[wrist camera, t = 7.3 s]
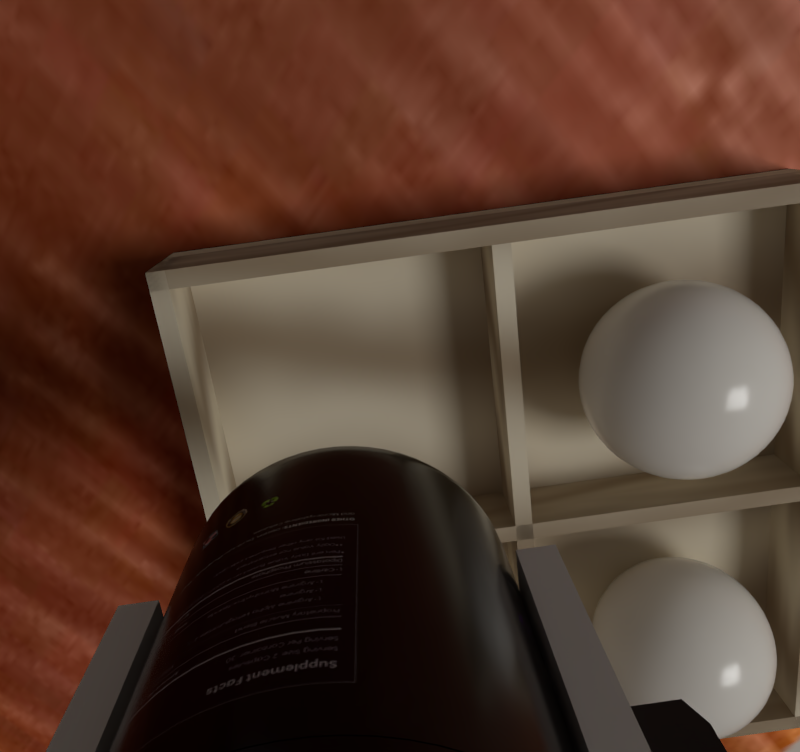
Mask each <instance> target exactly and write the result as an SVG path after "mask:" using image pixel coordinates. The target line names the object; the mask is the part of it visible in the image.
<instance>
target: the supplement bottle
mask: <svg viewBox="0 0 800 752" xmlns="http://www.w3.org/2000/svg"><path fill="white" fill-rule="evenodd" d="M109 752H575V749H574V746H573V743H572V740H571V737H570V734H569V732H568V729H567V726H566V723H565V720H564V717H563V714H562V711H561V709H560V706H559V703H558V700H557V697H556V694H555V691H554V689H553V686H552V683H551V680H550V677H549V674H548V671H547V669H546V666H545V663H544V660H543V657H542V654H541V651H540V648H539V646H538V643H537V640H536V637H535V634H534V631H533V628H532V626H531V623H530V620H529V617H528V614H527V611H526V608H525V606H524V603H523V600H522V597H521V594H520V591H519V588H518V585H517V583H516V580H515V577H514V574H513V571H512V568H511V566H510V564H509V561H508V558H507V556H506V553H505V550H504V548H503V545H502V543H501V541H500V539H499V536H498V534H497V532H496V530H495V528H494V526H493V525H492V523H491V521H490V520H489V518H488V516H487V514H486V513H485V512H484V510H483V509H482V508H481V506H480V505H479V504H478V503H477V501H476V500H475V499H474V498H473V497H472V496H471V495H470V494H469V493H468V492H467V491H466V490H465V489H464V488H462V487H461V486H460V485H459V484H458V483H457V482H455V481H454V480H453V479H451V478H450V477H449V476H447V475H446V474H444V473H443V472H441V471H440V470H438V469H436V468H434V467H433V466H431V465H429V464H427V463H425V462H422V461H420V460H418V459H416V458H413V457H410V456H407V455H404V454H401V453H398V452H394V451H390V450H385V449H379V448H373V447H362V446H337V447H328V448H320V449H315V450H311V451H306V452H302V453H299V454H296V455H293V456H289V457H287V458H284V459H282V460H280V461H277V462H275V463H273V464H271V465H269V466H267V467H265V468H263V469H262V470H260V471H258V472H257V473H255V474H254V475H252V476H251V477H249V478H248V479H246V480H245V481H244V482H242V483H241V484H240V485H239V486H238V487H236V488H235V489H234V490H233V491H232V492H231V493H230V494H229V495H228V496H227V497H226V498H225V499H224V500H223V501H222V502H221V503H220V504H219V506H218V507H217V508H216V509H215V511H214V512H213V513H212V515H211V516H210V518H209V519H208V521H207V522H206V524H205V526H204V527H203V529H202V531H201V532H200V534H199V536H198V539H197V541H196V543H195V545H194V547H193V549H192V551H191V554H190V556H189V558H188V561H187V563H186V565H185V567H184V569H183V572H182V574H181V576H180V579H179V581H178V584H177V586H176V589H175V591H174V593H173V596H172V598H171V601H170V603H169V606H168V608H167V611H166V613H165V615H164V618H163V620H162V623H161V625H160V628H159V630H158V632H157V635H156V637H155V640H154V642H153V645H152V647H151V650H150V652H149V654H148V657H147V659H146V662H145V664H144V667H143V669H142V671H141V674H140V676H139V679H138V681H137V684H136V686H135V689H134V691H133V693H132V696H131V698H130V701H129V703H128V706H127V708H126V710H125V713H124V715H123V718H122V720H121V723H120V725H119V728H118V730H117V732H116V735H115V737H114V740H113V742H112V745H111V747H110V749H109Z"/></svg>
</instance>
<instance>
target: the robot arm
mask: <svg viewBox="0 0 800 752" xmlns="http://www.w3.org/2000/svg"><path fill="white" fill-rule="evenodd" d="M516 558H517V570H518V581H519V591H520V594H521V597H522V600H523V603H524V606H525V608H526V611H527V614H528V617H529V620H530V623H531V626H532V628H533V631H534V634H535V637H536V640H537V643H538V646H539V648H540V651H541V654H542V657H543V660H544V663H545V666H546V669H547V671H548V674H549V677H550V680H551V683H552V686H553V689H554V691H555V694H556V697H557V700H558V703H559V706H560V709H561V711H562V714H563V717H564V720H565V723H566V726H567V729H568V732H569V734H570V737H571V740H572V743H573V746H574V749H575V752H727V751H726V749H725V748H724V746H723V744H722V743H721V741H720V739H719V737H718V736H717V734H716V732H715V731H714V729H713V727H712V725H711V724H710V723H709V722H708V721H707V720H705V719H704V718H703V717H702V716H701V715H700V714H698V713H697V712H696V711H695V710H694V709H693V708H691V707H690V706H689V705H688V704H687V703H686V702H684V701H683V700H682V699H678V700H671V701H664V702H657V703H650V704H643V705H636V706H630V704H629V702H628V700H627V698H626V696H625V694H624V691H623V689H622V687H621V685H620V683H619V681H618V678H617V676H616V674H615V672H614V670H613V668H612V665H611V663H610V661H609V659H608V657H607V655H606V652H605V650H604V648H603V646H602V644H601V642H600V639H599V637H598V635H597V633H596V631H595V629H594V627H593V624H592V622H591V620H590V618H589V616H588V614H587V611H586V609H585V607H584V605H583V603H582V601H581V598H580V596H579V594H578V592H577V590H576V588H575V585H574V583H573V581H572V579H571V577H570V575H569V573H568V570H567V568H566V566H565V564H564V562H563V560H562V557H561V555H560V553H559V551H558V549H557V547H556V544H555V545H548V546H541V547H534V548H527V549H520V550H516ZM163 618H164V617H163V614H162V610H161V607H160V603H159V600H157V601H150V602H143V603H136V604H129V605H122V606H118V608H117V610H116V612H115V614H114V616H113V618H112V620H111V622H110V624H109V626H108V628H107V630H106V632H105V634H104V636H103V638H102V640H101V642H100V644H99V646H98V648H97V650H96V652H95V654H94V656H93V658H92V660H91V662H90V664H89V666H88V668H87V670H86V672H85V674H84V676H83V678H82V680H81V682H80V684H79V686H78V688H77V690H76V692H75V694H74V696H73V698H72V700H71V702H70V704H69V706H68V708H67V710H66V712H65V714H64V716H63V718H62V720H61V722H60V724H59V726H58V728H57V730H56V732H55V734H54V736H53V738H52V740H51V742H50V744H49V746H48V748H47V750H46V752H109V749H110V747H111V745H112V742H113V740H114V737H115V735H116V732H117V730H118V728H119V725H120V723H121V720H122V718H123V715H124V713H125V710H126V708H127V706H128V703H129V701H130V698H131V696H132V693H133V691H134V689H135V686H136V684H137V681H138V679H139V676H140V674H141V671H142V669H143V667H144V664H145V662H146V659H147V657H148V654H149V652H150V650H151V647H152V645H153V642H154V640H155V637H156V635H157V632H158V630H159V628H160V625H161V623H162V620H163Z"/></svg>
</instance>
